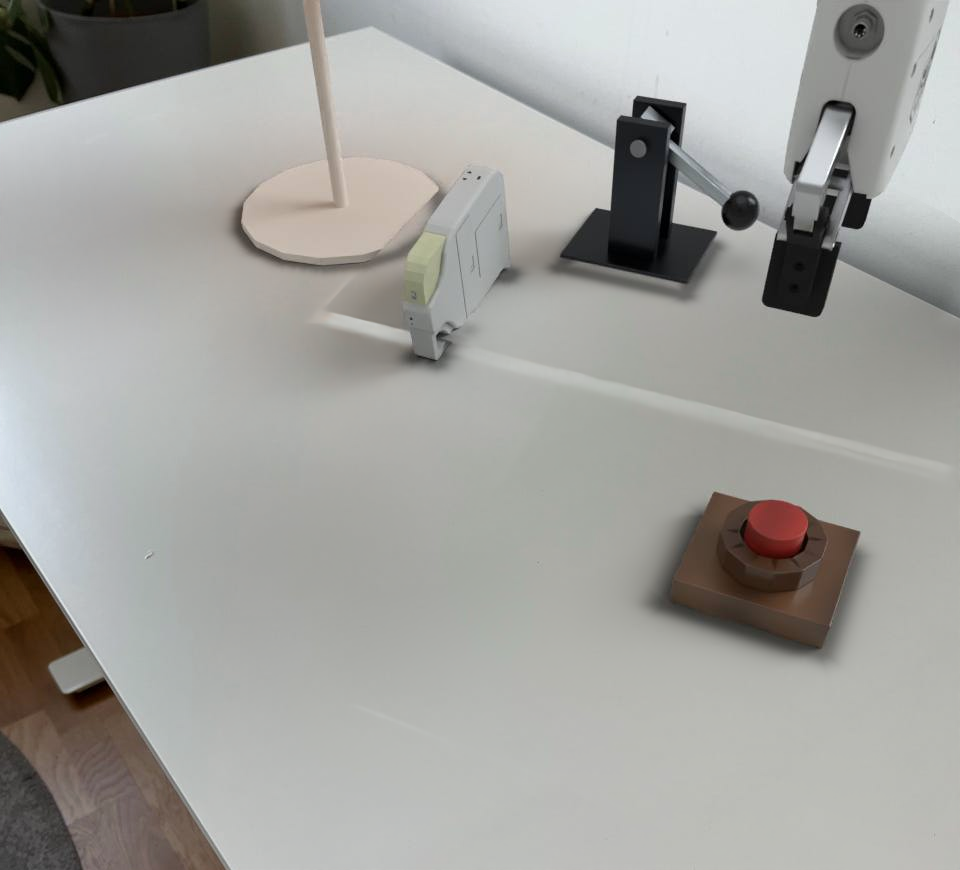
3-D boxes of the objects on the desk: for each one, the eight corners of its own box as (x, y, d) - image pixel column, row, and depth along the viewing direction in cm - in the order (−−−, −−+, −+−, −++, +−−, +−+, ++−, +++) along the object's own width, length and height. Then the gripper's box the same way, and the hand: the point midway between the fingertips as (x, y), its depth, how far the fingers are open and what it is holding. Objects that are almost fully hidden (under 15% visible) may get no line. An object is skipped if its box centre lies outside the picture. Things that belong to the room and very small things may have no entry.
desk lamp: (295, 333, 85) (204, -105, 61) (141, 207, 100) (18, -185, 76) (552, 215, 96) (561, -196, 72) (378, 118, 111) (337, -250, 87)
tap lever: (747, 227, 86) (771, 200, 84) (737, 245, 85) (761, 218, 82) (632, 129, 85) (654, 98, 82) (620, 145, 83) (641, 114, 80)
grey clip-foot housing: (412, 375, 84) (484, 266, 91) (442, 383, 83) (512, 272, 90) (390, 265, 75) (472, 152, 81) (423, 273, 74) (503, 158, 80)
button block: (852, 554, 67) (868, 511, 63) (822, 649, 62) (837, 608, 58) (709, 513, 69) (717, 470, 66) (668, 602, 64) (676, 559, 61)
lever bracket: (715, 244, 92) (738, 99, 82) (685, 294, 87) (706, 146, 77) (594, 220, 95) (603, 79, 85) (559, 266, 90) (564, 122, 80)
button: (807, 528, 63) (814, 508, 62) (794, 566, 61) (800, 546, 60) (752, 513, 64) (757, 493, 63) (737, 550, 62) (742, 530, 61)
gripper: (967, -34, 36) (845, 365, 49) (1029, -155, 45) (913, 206, 59) (764, -57, 38) (700, 330, 51) (865, -168, 48) (789, 182, 61)
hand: (814, 263), depth 55 cm, fingers open, 9 cm apart
